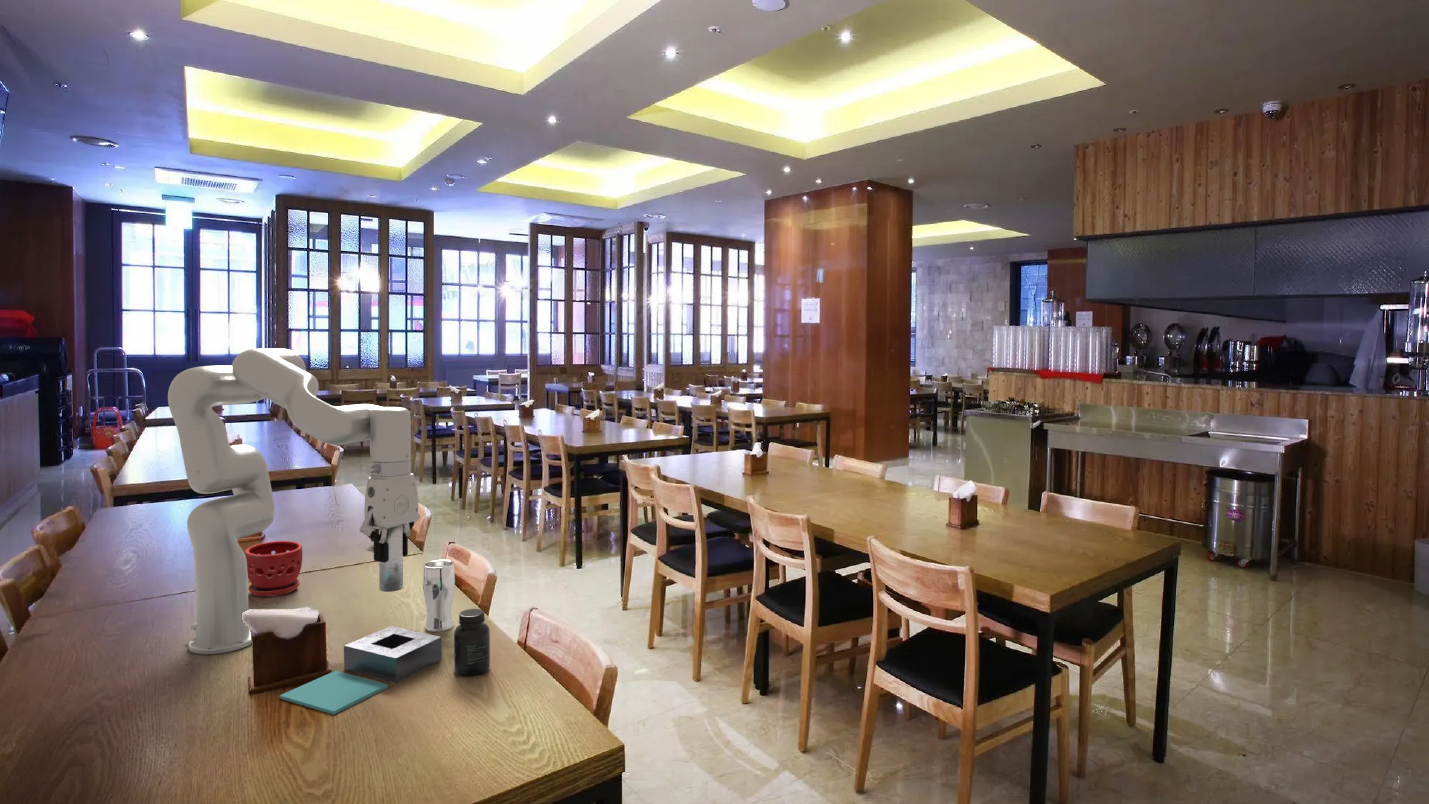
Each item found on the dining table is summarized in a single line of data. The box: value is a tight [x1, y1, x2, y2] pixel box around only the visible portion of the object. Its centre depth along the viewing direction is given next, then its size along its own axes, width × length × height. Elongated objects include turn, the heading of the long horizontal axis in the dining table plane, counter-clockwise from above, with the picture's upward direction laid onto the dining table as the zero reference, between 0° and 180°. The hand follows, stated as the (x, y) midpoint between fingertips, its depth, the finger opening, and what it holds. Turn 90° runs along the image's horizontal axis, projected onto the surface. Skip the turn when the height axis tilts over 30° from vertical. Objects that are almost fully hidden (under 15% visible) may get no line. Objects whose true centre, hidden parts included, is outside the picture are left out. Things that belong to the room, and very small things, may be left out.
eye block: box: [343, 625, 443, 684], centre depth 157 cm, size 14×12×5 cm
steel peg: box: [378, 525, 404, 593], centre depth 155 cm, size 4×4×13 cm
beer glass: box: [422, 559, 456, 633], centre depth 177 cm, size 7×7×15 cm
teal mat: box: [279, 670, 389, 715], centre depth 144 cm, size 14×12×1 cm
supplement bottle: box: [453, 608, 491, 678], centre depth 154 cm, size 7×7×12 cm
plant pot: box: [244, 540, 303, 598], centre depth 200 cm, size 13×13×12 cm
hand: (391, 557), depth 155 cm, fingers closed on steel peg, 4 cm apart
